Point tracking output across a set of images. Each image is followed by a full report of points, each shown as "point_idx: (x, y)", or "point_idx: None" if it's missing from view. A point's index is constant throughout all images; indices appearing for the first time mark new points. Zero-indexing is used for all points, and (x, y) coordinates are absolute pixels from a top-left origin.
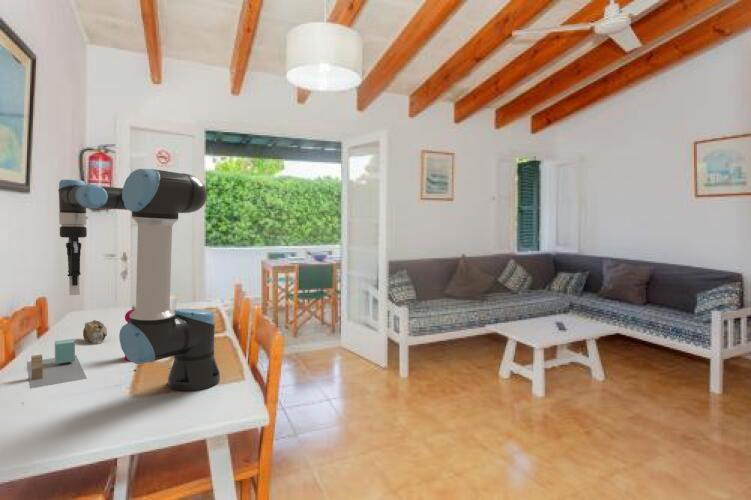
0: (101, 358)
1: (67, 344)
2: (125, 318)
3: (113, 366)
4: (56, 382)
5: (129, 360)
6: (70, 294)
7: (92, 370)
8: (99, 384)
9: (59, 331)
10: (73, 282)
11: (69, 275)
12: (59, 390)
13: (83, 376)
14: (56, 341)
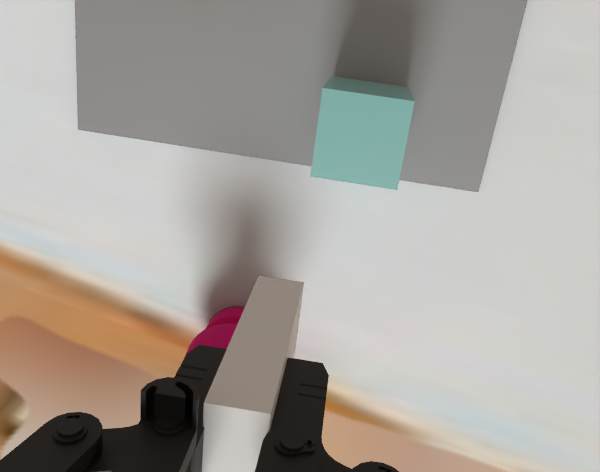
0: (359, 258)
1: (316, 141)
2: None
3: (205, 254)
4: (93, 24)
5: (215, 316)
6: (257, 283)
7: (202, 180)
8: (10, 148)
9: None
10: (179, 374)
11: (151, 400)
12: (16, 17)
13: (111, 126)
14: (397, 107)
